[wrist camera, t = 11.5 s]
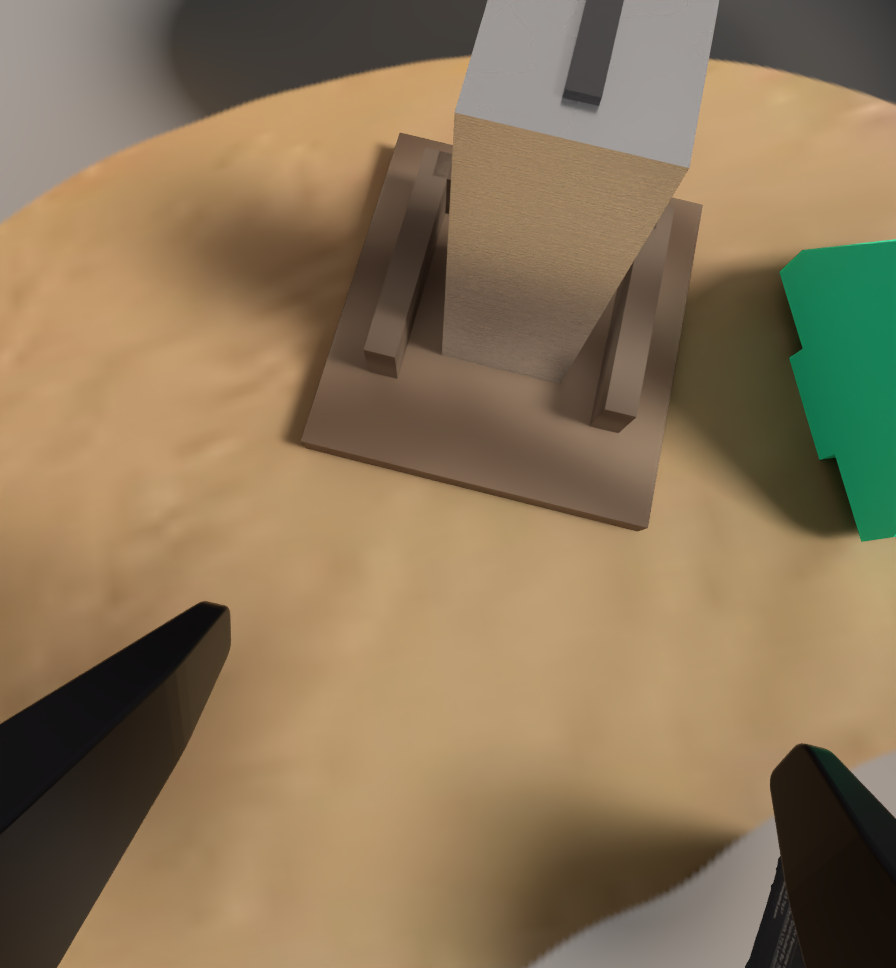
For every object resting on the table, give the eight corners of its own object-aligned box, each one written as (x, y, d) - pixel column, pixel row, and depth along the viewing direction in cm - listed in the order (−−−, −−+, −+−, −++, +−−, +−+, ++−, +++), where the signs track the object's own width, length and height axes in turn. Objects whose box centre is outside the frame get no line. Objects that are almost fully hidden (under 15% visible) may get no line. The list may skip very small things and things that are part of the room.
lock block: (559, 384, 23) (693, 160, 11) (441, 355, 23) (454, 104, 11) (583, 278, 24) (726, -25, 12) (470, 251, 24) (508, -75, 12)
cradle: (638, 531, 22) (669, 520, 20) (306, 448, 23) (288, 424, 20) (692, 220, 26) (726, 170, 23) (400, 150, 26) (397, 92, 23)
